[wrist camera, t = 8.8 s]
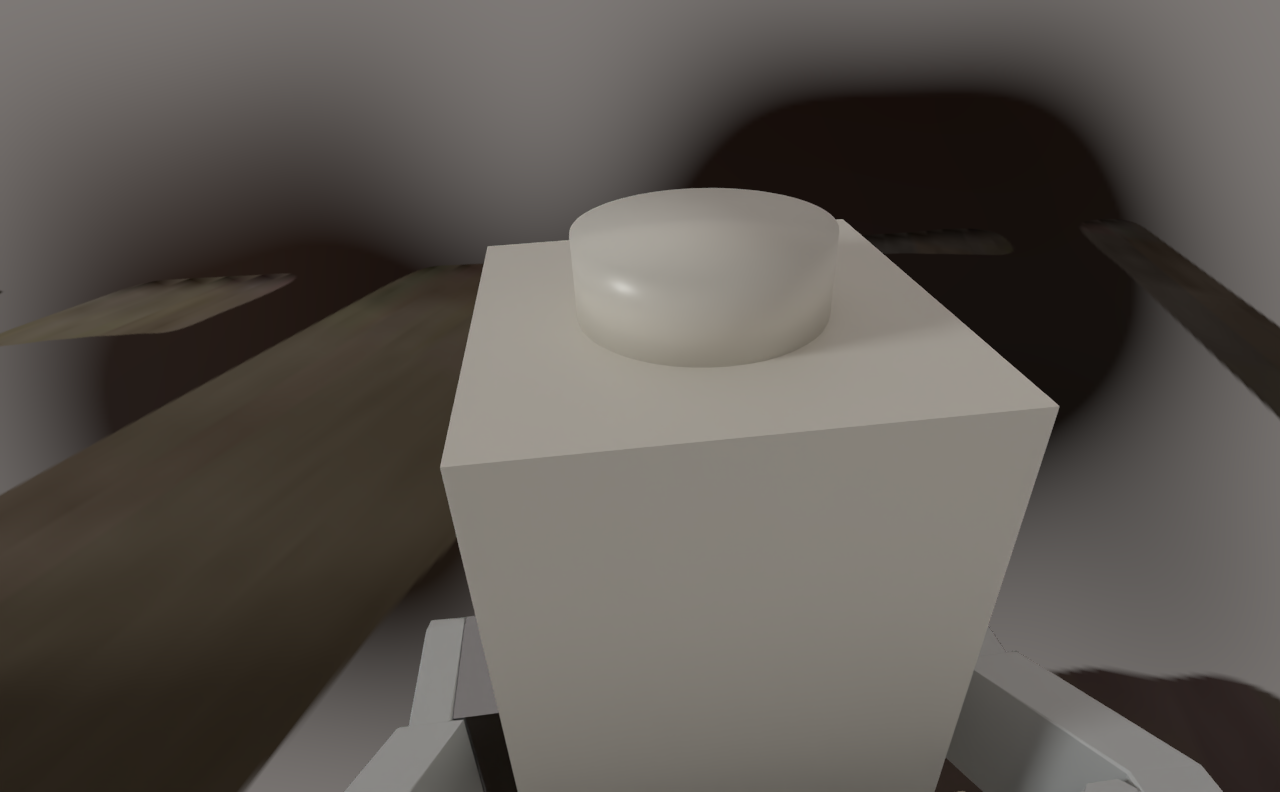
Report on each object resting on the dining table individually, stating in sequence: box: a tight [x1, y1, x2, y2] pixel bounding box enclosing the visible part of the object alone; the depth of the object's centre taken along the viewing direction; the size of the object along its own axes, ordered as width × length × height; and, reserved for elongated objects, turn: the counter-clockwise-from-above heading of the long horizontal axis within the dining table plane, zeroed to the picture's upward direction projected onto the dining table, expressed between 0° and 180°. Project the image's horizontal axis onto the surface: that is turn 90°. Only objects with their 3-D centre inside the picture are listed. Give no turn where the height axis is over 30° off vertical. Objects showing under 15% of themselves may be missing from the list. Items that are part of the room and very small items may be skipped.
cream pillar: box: [440, 188, 1059, 792], centre depth 10 cm, size 4×4×14 cm
